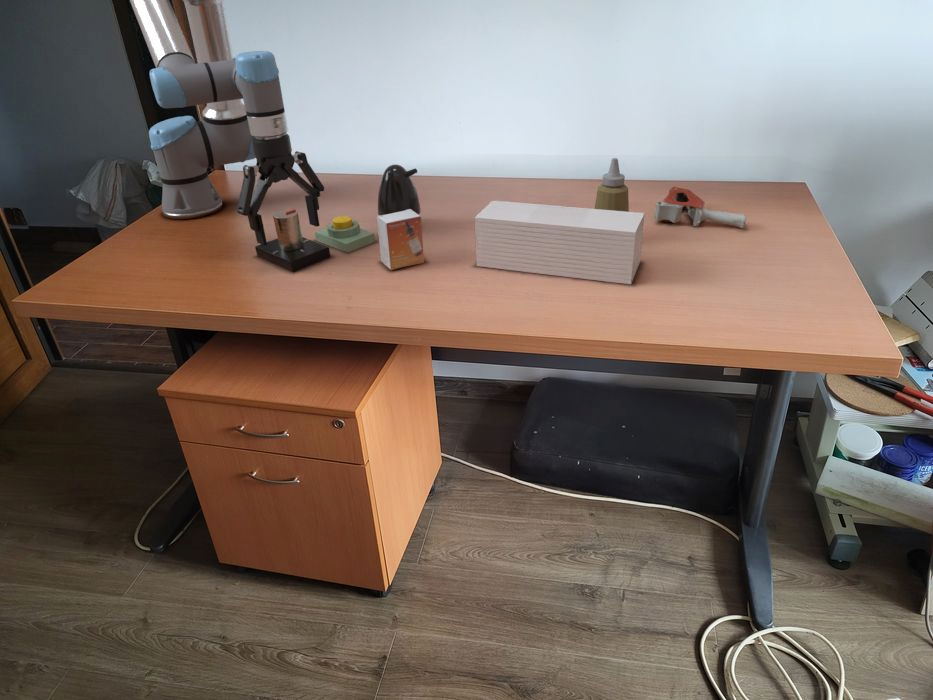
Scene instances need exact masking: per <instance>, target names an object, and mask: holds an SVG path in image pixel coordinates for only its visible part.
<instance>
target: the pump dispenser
mask: <svg viewBox="0 0 933 700" xmlns="http://www.w3.org/2000/svg"><path fill="white" fill-rule="evenodd" d="M417 173H418V169H417V168H412V169H410V170H407V169H406V168H405V167H404V166H402V165H400V164H391V165H389V166H387V167H386V168H385V169H384V172H383V173H382V176H381V179H380V183H379V187H378V193H377V216H379V215H386V214H391V213H396V212H400V211H405V210H408V209H411V210H413V211H414V212H415V213H417V214H418V215H420V214H421V212H422V211H421V204H420V199H419V195H418V192H417V188H416V186H415V183H414V182H413V180H412V178H411V177H413V176H414V175H415V174H417Z"/></svg>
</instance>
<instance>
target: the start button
mask: <svg viewBox="0 0 933 700" xmlns="http://www.w3.org/2000/svg"><path fill="white" fill-rule="evenodd" d="M352 220H353V218H352V217H351V216H348V215H344V216H343V215H342V216H337V217H334V218H333V219H332V222H333V227H334V228H335V229H346V228H350V227H352V226H353V224H352Z"/></svg>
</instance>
